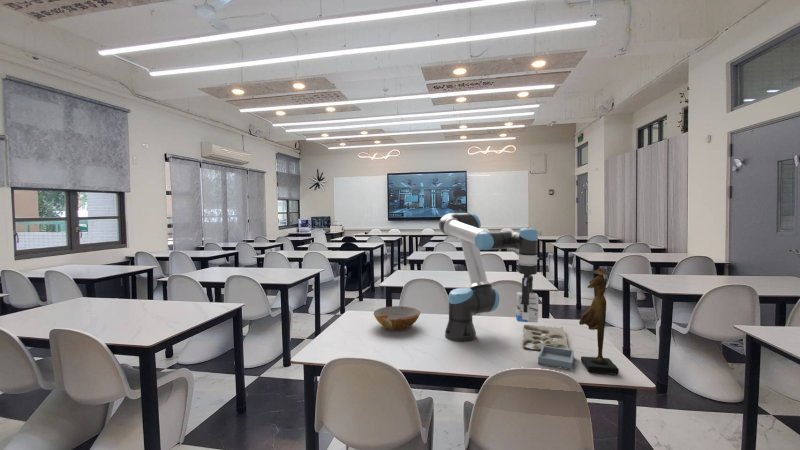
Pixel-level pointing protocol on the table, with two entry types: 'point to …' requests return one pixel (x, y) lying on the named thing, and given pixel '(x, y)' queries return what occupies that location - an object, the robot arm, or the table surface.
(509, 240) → the robot arm
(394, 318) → the bowl
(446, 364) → the table surface
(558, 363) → the tray
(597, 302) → the sculpture
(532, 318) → the ink box
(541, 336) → the stone relief
